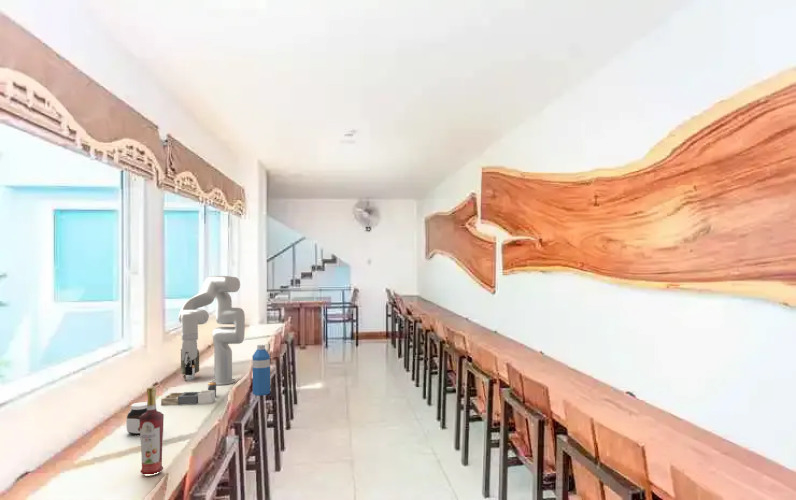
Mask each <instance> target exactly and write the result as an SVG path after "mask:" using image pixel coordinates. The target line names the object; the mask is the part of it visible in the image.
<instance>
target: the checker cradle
mask: <svg viewBox="0 0 796 500" xmlns="http://www.w3.org/2000/svg"><path fill="white" fill-rule="evenodd" d="M199 392H200V391H189V392H188V391H184V392H181V393H182V394H181V395H179V396H178V406H179V405H198V393H199Z"/></svg>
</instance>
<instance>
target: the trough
mask: <svg viewBox="0 0 796 500" xmlns="http://www.w3.org/2000/svg"><path fill="white" fill-rule="evenodd" d="M182 393H183V392H170V393H168V394H167V395H165V396H163V397H162V398H161V399H160V403H161V404H160V405H161V406H177V405H178V396H179V395H181V394H182ZM178 406H179V405H178Z"/></svg>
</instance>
